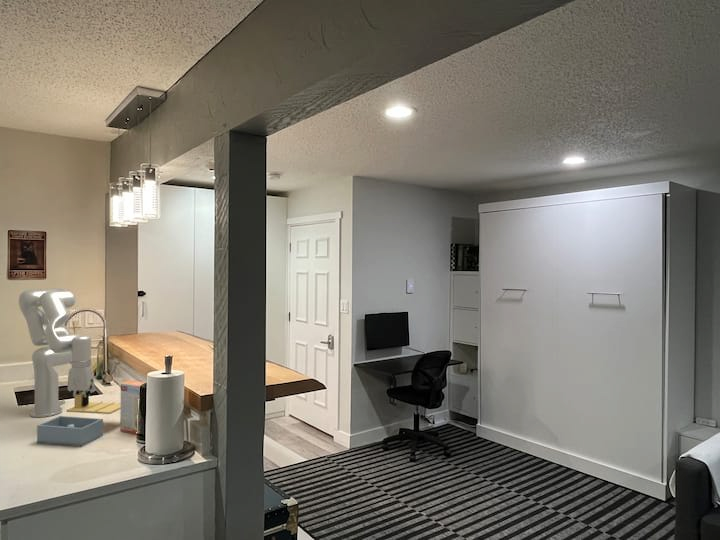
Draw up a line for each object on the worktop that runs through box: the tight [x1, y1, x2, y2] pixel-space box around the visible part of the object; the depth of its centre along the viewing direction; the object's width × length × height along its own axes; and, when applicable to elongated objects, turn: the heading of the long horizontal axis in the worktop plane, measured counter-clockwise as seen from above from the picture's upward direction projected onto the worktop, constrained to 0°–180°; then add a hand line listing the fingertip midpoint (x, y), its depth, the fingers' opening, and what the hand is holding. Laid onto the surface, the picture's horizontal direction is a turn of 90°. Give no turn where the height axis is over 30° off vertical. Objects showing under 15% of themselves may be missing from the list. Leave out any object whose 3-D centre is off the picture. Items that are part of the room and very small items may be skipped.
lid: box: [66, 391, 121, 415], centre depth 212 cm, size 21×13×6 cm, turn 82°
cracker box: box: [119, 380, 145, 435], centre depth 206 cm, size 14×6×21 cm, turn 65°
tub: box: [36, 415, 104, 447], centre depth 197 cm, size 20×12×7 cm, turn 82°
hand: (81, 404), depth 213 cm, fingers closed on lid, 3 cm apart
